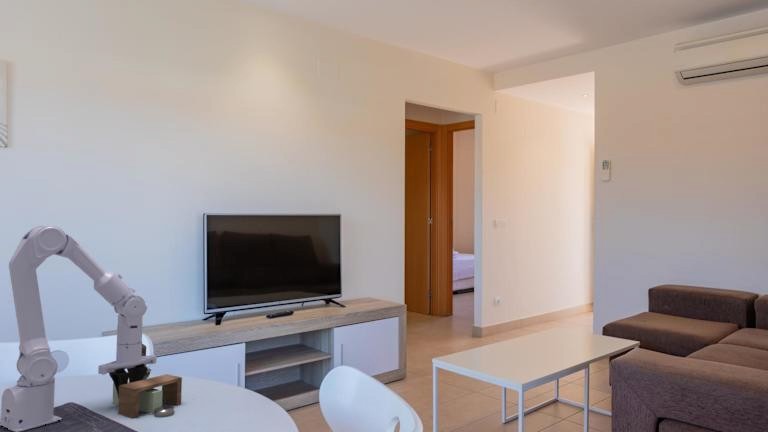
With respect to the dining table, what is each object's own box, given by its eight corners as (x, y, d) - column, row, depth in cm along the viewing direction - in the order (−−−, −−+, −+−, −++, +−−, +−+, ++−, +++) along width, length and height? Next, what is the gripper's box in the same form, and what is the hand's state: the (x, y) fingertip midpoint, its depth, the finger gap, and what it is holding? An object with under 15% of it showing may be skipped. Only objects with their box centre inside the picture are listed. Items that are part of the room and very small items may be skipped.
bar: (153, 414, 126) (153, 392, 126) (112, 403, 134) (113, 383, 135) (161, 411, 128) (162, 390, 128) (121, 400, 136) (122, 381, 137)
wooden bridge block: (133, 418, 123) (134, 389, 123) (118, 413, 126) (119, 385, 126) (181, 404, 134) (181, 377, 134) (165, 400, 137) (166, 374, 138)
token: (162, 419, 123) (162, 413, 123) (149, 416, 125) (149, 410, 125) (178, 414, 127) (178, 407, 127) (165, 411, 129) (165, 405, 129)
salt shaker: (135, 387, 149) (136, 343, 150) (124, 383, 152) (125, 341, 153) (155, 383, 154) (156, 340, 154) (144, 379, 157) (145, 338, 158)
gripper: (145, 336, 142) (143, 388, 142) (91, 345, 130) (89, 402, 129) (162, 339, 139) (160, 392, 138) (109, 348, 126) (107, 407, 126)
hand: (127, 397), depth 133 cm, fingers closed on bar, 2 cm apart
